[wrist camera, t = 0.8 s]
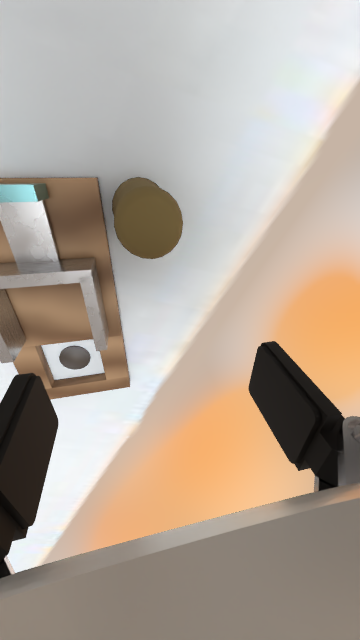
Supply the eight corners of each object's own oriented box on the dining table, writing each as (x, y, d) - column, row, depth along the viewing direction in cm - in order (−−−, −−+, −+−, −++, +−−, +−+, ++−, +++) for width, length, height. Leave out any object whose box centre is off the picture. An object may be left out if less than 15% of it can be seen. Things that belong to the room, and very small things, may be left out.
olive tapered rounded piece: (149, 248, 28) (163, 283, 19) (101, 217, 26) (90, 241, 16) (178, 201, 26) (209, 215, 17) (130, 163, 24) (135, 155, 14)
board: (-66, 178, 21) (-77, 178, 20) (97, 177, 24) (96, 177, 22) (35, 394, 36) (32, 402, 35) (129, 379, 38) (130, 386, 37)
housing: (-57, 184, 20) (-92, 186, 17) (80, 182, 22) (72, 184, 19) (15, 341, 29) (1, 363, 25) (108, 330, 31) (107, 349, 27)
